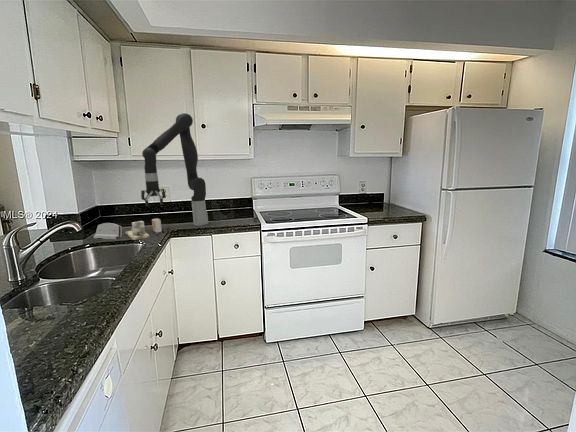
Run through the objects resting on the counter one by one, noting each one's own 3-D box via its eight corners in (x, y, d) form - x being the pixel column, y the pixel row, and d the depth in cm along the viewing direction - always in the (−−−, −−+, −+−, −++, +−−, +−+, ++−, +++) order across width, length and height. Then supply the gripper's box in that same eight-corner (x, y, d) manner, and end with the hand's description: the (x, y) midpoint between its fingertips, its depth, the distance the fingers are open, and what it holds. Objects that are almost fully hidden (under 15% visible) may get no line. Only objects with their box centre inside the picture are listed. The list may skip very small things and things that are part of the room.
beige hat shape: (140, 231, 208) (138, 217, 206) (149, 237, 193) (147, 221, 191) (125, 234, 203) (123, 219, 201) (133, 239, 187) (131, 224, 186)
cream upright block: (161, 231, 206) (160, 219, 205) (155, 232, 204) (154, 220, 202) (158, 230, 211) (157, 218, 209) (152, 231, 208) (151, 219, 207)
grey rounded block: (93, 238, 194) (95, 222, 196) (99, 238, 199) (101, 223, 200) (115, 239, 190) (117, 222, 192) (121, 239, 195) (123, 223, 196)
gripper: (161, 179, 208) (163, 203, 211) (138, 180, 199) (141, 206, 202) (165, 179, 202) (167, 204, 206) (141, 181, 194) (144, 207, 197)
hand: (154, 205), depth 204 cm, fingers open, 8 cm apart
